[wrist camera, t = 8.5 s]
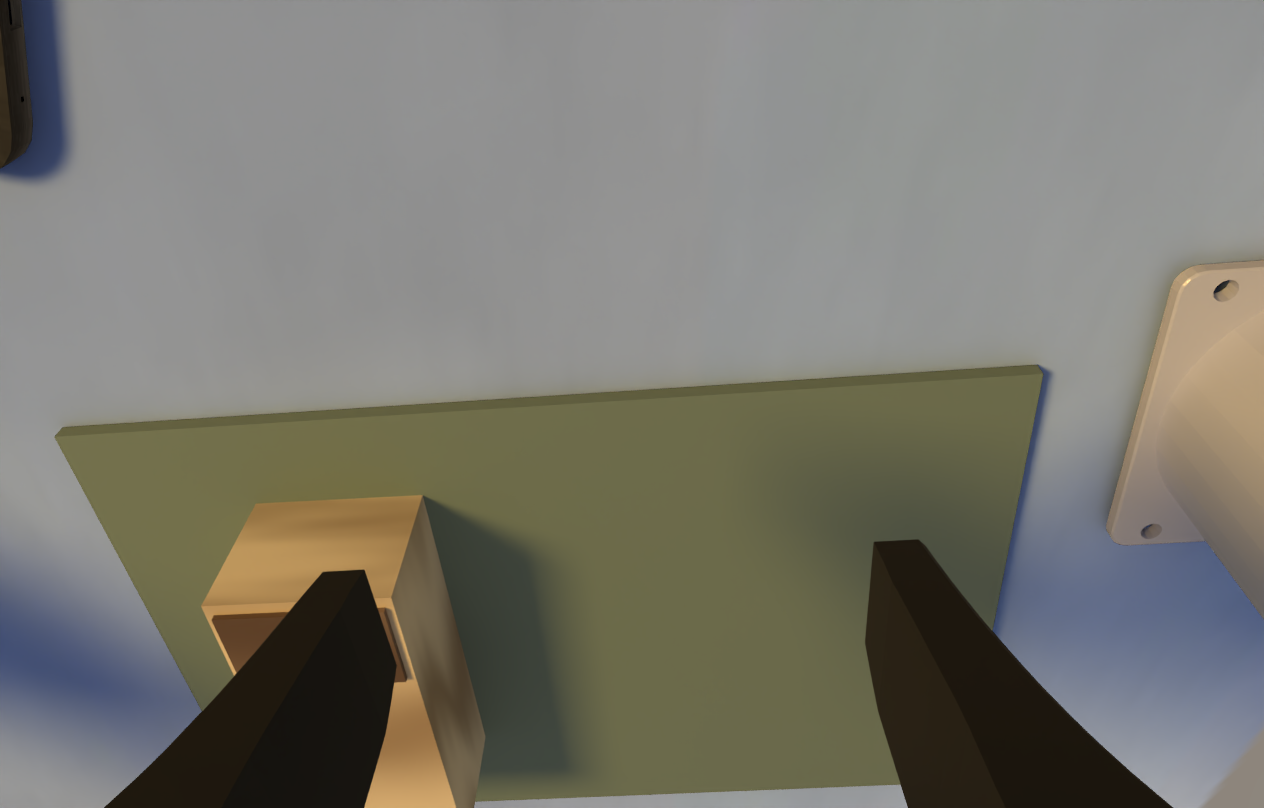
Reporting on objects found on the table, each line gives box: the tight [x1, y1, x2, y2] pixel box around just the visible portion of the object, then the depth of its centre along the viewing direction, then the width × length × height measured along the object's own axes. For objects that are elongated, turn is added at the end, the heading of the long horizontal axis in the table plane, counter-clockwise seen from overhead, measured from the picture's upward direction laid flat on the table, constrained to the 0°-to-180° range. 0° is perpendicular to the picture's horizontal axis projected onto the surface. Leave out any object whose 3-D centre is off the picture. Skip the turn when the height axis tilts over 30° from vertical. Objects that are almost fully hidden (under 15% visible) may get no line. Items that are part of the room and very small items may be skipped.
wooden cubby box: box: [201, 495, 485, 808], centre depth 25 cm, size 10×4×4 cm, turn 4°
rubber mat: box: [55, 365, 1043, 802], centre depth 27 cm, size 24×16×1 cm, turn 95°
